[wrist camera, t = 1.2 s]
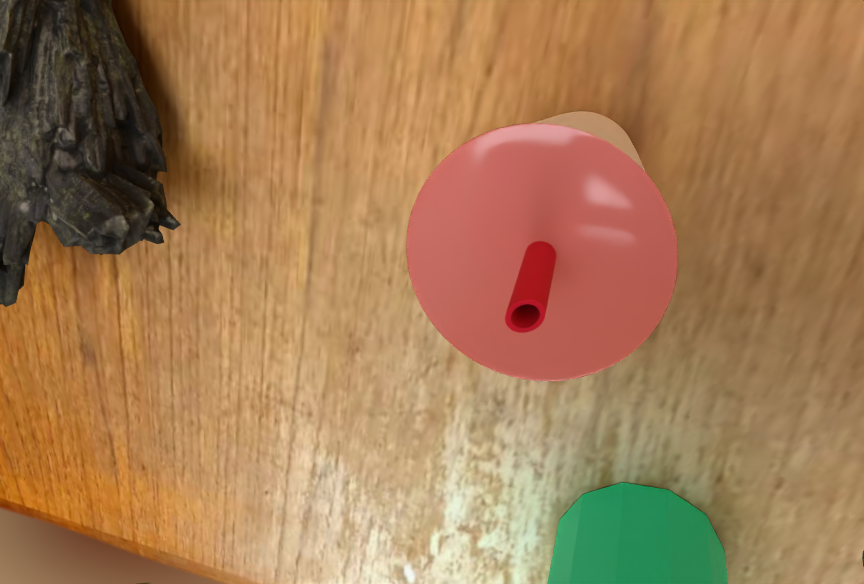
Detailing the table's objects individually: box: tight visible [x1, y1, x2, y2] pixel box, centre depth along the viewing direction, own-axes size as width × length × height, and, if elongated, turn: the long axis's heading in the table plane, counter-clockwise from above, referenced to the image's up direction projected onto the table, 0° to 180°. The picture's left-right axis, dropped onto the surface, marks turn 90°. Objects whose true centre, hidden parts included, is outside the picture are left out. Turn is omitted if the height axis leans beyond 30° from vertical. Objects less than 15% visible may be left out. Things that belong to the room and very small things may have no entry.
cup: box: [407, 111, 678, 381], centre depth 17 cm, size 5×5×12 cm
